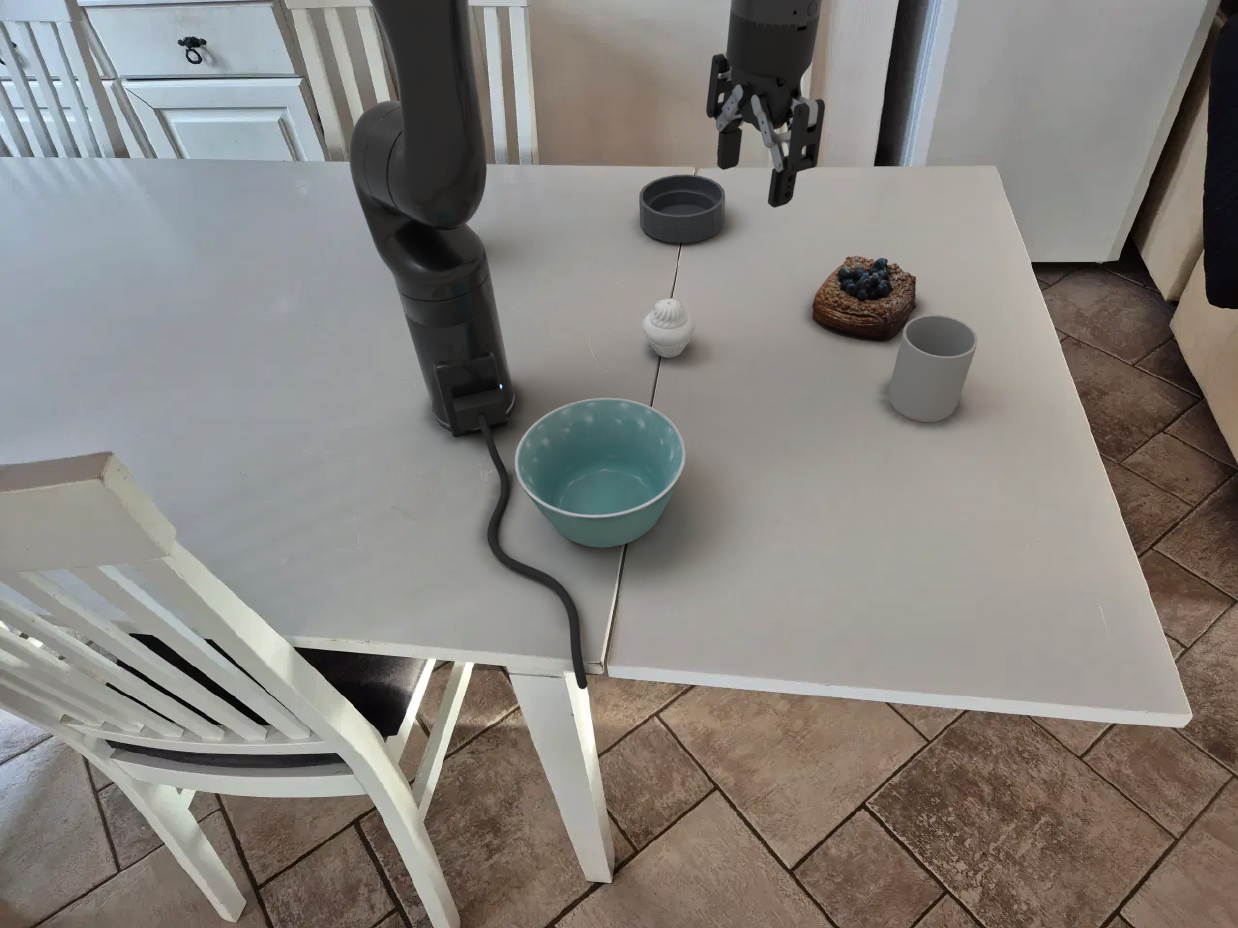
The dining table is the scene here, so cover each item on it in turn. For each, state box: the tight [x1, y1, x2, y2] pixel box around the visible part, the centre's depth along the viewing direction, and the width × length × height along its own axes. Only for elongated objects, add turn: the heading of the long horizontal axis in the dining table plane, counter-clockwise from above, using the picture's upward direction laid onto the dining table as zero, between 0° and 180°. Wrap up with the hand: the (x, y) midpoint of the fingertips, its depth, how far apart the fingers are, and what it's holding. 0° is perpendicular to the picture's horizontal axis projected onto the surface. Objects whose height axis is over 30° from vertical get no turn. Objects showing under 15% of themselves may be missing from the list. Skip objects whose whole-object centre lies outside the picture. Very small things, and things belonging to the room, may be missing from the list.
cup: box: [887, 314, 979, 423], centre depth 86 cm, size 7×10×9 cm
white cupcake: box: [642, 297, 696, 359], centre depth 95 cm, size 6×6×7 cm
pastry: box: [811, 255, 918, 343], centre depth 99 cm, size 11×12×6 cm
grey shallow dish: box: [638, 174, 726, 244], centre depth 116 cm, size 12×12×4 cm
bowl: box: [514, 397, 687, 548], centre depth 77 cm, size 16×16×8 cm
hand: (752, 185), depth 80 cm, fingers open, 8 cm apart
